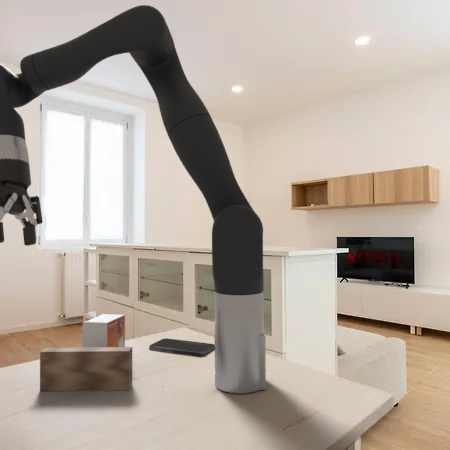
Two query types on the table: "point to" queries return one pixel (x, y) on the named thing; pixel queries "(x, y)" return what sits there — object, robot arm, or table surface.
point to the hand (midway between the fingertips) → (15, 244)
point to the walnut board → (86, 369)
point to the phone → (182, 347)
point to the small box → (104, 331)
